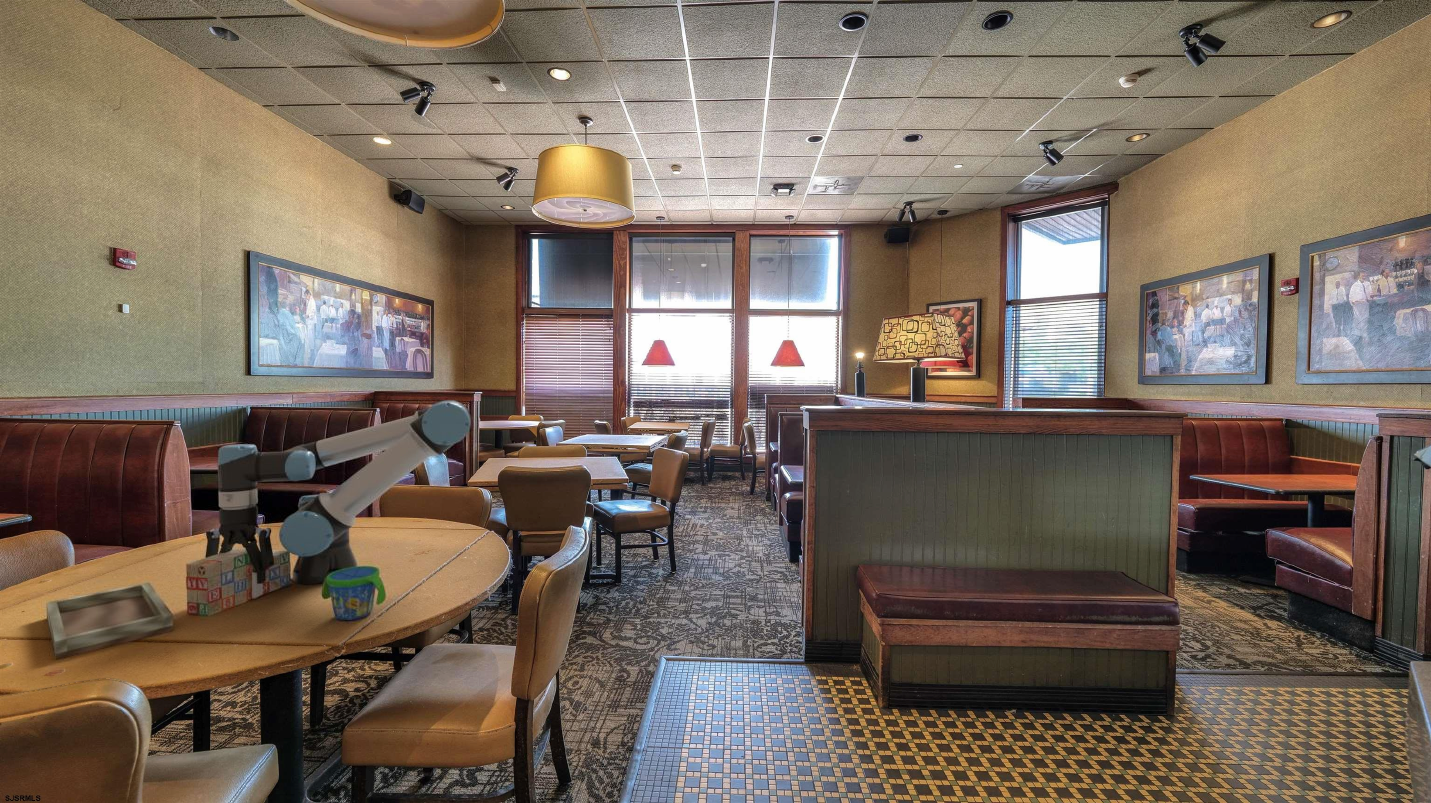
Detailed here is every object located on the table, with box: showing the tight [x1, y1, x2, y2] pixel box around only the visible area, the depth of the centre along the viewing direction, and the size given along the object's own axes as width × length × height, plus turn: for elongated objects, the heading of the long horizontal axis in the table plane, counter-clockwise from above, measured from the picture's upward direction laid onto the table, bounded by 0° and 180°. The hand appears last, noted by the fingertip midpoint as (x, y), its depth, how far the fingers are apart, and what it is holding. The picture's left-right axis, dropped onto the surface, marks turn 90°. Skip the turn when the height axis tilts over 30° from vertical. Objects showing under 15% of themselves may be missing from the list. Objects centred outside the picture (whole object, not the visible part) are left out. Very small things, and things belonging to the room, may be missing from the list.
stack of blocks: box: [185, 548, 292, 617], centre depth 145 cm, size 21×6×12 cm, turn 170°
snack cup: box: [321, 565, 387, 621], centre depth 135 cm, size 16×10×10 cm
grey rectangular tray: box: [45, 582, 174, 660], centre depth 129 cm, size 17×31×4 cm, turn 52°
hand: (240, 596), depth 144 cm, fingers closed on stack of blocks, 7 cm apart
